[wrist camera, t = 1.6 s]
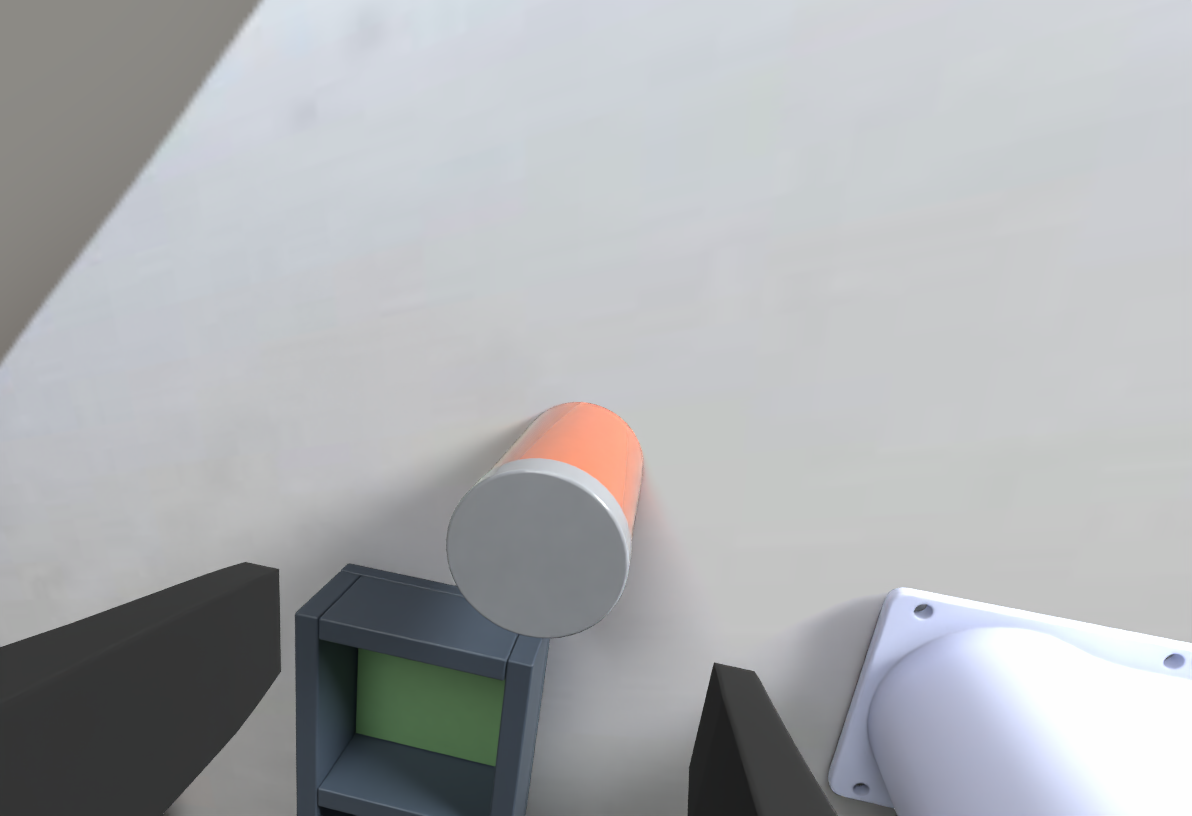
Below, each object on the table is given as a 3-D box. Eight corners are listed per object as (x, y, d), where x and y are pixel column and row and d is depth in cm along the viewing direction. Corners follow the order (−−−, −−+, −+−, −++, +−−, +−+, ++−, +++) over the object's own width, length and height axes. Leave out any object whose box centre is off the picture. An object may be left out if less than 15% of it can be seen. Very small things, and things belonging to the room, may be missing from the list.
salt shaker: (655, 412, 17) (643, 490, 12) (634, 531, 18) (613, 656, 13) (525, 389, 18) (451, 453, 12) (512, 508, 19) (439, 618, 13)
